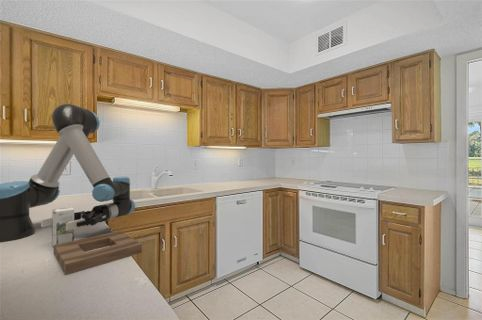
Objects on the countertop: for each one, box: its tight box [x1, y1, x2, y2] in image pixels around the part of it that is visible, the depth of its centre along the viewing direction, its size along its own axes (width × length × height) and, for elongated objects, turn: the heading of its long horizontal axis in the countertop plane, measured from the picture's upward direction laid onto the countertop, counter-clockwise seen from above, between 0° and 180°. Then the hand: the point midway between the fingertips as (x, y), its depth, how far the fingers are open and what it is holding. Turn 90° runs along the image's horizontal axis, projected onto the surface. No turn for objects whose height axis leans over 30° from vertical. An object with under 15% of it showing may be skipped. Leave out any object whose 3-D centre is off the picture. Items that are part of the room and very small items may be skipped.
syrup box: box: [51, 206, 75, 248], centre depth 89 cm, size 6×6×14 cm
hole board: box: [53, 230, 143, 275], centre depth 82 cm, size 22×22×3 cm
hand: (53, 225), depth 86 cm, fingers open, 13 cm apart
